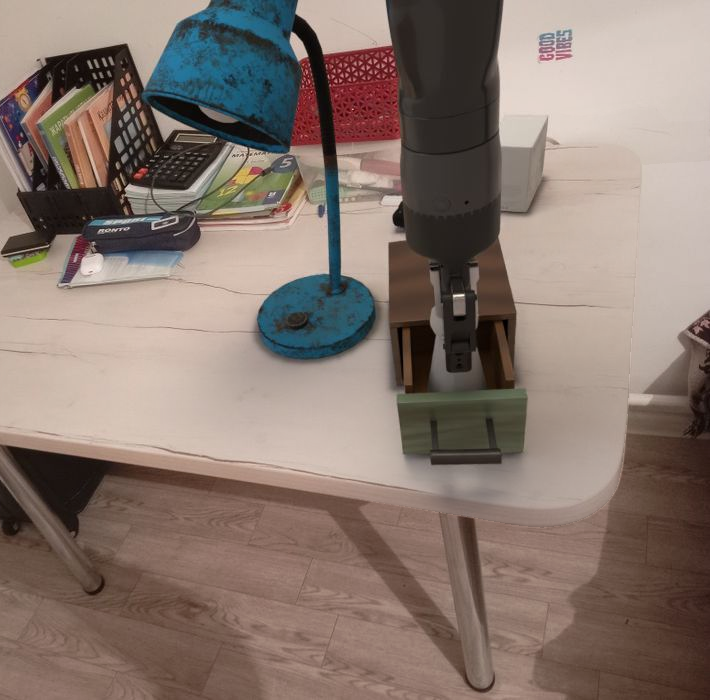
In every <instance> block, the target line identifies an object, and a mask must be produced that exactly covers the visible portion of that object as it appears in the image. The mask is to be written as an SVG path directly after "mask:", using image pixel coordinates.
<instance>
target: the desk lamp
mask: <svg viewBox="0 0 710 700" xmlns="http://www.w3.org/2000/svg"><path fill="white" fill-rule="evenodd" d="M298 3H299V0H209V3H208V5H207V6H206V7H205V9H202V10H200V11H198V12H196V13H194V14H192V15H189V16H188V17H185V18H184V19H182V20H180V21H179V22H177V23H176V25H175V27H174V29H173V31H172V33H171V35H170V37H169V39H168V41H167V43H166V45H165V47H164V49H163V51H162V53H161V54H160V57H159V59H158V61H157V63H156V65H155V67H154V68H153V71H152V72H151V74H150V77H149V79H148V81H147V83H146V84H145V87H144V89H143V91H142V93H141V100H142V101H144V103H146V104H147V105H148V106H150V107H151V108H153V109H154V110H155V111H157V112H159V113H161V114H162V115H164V116H166V117H168V118H170V119H171V120H174V121H176V122H179V123H180V124H182V125H184V126H186V127H189V128H191V129H194V130H195V131H198V132H201V133H203V134H206V135H208V136H212V137H214V138H216V139H219V140H222V141H225V142H228V143H231V144H234V145H237V146H241V147H243V148H248V149H250V150H255V151H259V152H262V153H263V152H264V153H268V154H274V155H287V154H288V153H291V145H292V139H293V134H294V129H295V128H294V127H295V123H296V121H295V120H296V116H297V109H298V103H299V97H300V93H301V92H300V91H301V85H302V80H303V68H302V66H301V64H300V61H299V59H298V57H297V55H296V53H295V51H294V49H293V47H292V44H291V36H292V33H293V34H295V36H297V38H298V39H299V40H300V42H302V44H303V47H304V49H305V52H306V54H307V57H308V63H309V68H310V71H311V75H312V81H313V85H314V93H315V99H316V105H317V112H318V113H317V114H318V120H319V130H320V131H319V132H320V140H321V148H322V150H321V151H322V157H323V167H324V180H325V183H324V185H325V202H326V216H327V217H326V219H327V248H328V273H320V274H311V275H306V276H303V277H300V278H296V279H294V280H292V281H289V282H287V283H285V284H283V285H281V286H280V287H278V288H276V289H275V290H273V291H272V292H271V293H270V294H269V295H268V296H267V297H266V298H265V299H264V300H263V302H262V304H261V305H260V307H259V309H258V313H257V317H256V322H257V327H258V331H259V335H260V339H261V340H262V342H263V343H264V345H265V346H266V347H267V348H268V349H269V350H271V351H273V352H274V353H276V354H278V355H280V356H283V357H286V358H290V359H299V360H311V359H312V360H313V359H322V358H326V357H331V356H334V355H337V354H340V353H342V352H344V351H346V350H348V349H351V348H353V347H354V346H355V345H357V344H358V343H360V342H361V341H362V340H363V339H364V338H366V336H367V335H368V334H369V333H370V331H371V330H372V328H373V327H374V323H375V321H376V317H377V315H376V311H377V310H376V305H375V303H376V302H375V298H374V296H373V293H372V292H371V290H370V288H369V287H368V286H366V285H365V284H364V283H363V282H362V281H360V280H358V279H355V278H354V277H352V276H347V275H343V274H342V242H341V241H342V238H341V236H342V234H341V233H342V231H341V204H340V184H339V183H340V182H339V181H340V180H339V165H338V155H337V154H338V153H337V142H336V133H335V132H336V131H335V123H334V122H335V121H334V111H333V104H332V103H333V102H332V96H331V89H330V81H329V76H328V70H327V66H326V61H325V57H324V51H323V48H322V45H321V42H320V40H319V37H318V34H317V33H316V31H315V30H314V29H313V27H312V25H310V23H308V21H307V20H306V19H305V18H303V17H302V16H300V15H298V14H297V9H298V8H297V7H298Z"/></svg>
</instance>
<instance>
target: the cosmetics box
mask: <svg viewBox="0 0 710 700" xmlns="http://www.w3.org/2000/svg"><path fill="white" fill-rule="evenodd" d="M548 123H549V115H548V114H509V113H508V114H505V115H504V116H503V118H502V120H501V122H499V135H500V143H501V150H502V181H501V211H502V212H514V213H527V212H528V210H529V208H530V206H531V204H532V201H533V199H534V197H535V195H536V193H537V190H538V188H539V186H540V184H541V182H542V180H543V176H544V174H543V173H544V165H545V157H546V154H545V153H546V146H547V134H548V125H549V124H548Z"/></svg>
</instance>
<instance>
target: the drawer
mask: <svg viewBox="0 0 710 700" xmlns="http://www.w3.org/2000/svg"><path fill="white" fill-rule="evenodd" d="M402 335H403V366H404V385H403V387H404V393H397V394H396V407H397V415H398V416H397V417H398V424H399V433H400V440H401V449H402V455H429V457H430V466H473V465H474V466H475V465H485V466H486V465H502V463H503V457H502V454H503V453H524V450H525V439H526V437H525V435H526V425H527V424H526V423H527V413H528V402H529V401H528V399H529V397H528V393H527V388H526V387H521V388H515V385H516V377H515V373H513V368H512V363H511V359H510V354H509V349H508V345H507V340H506V335H505V331H504V326H503V321H502V320H489V321H478V326H477V328H476V341H477V349H478V353H479V357H480V361H481V364H482V368H483V372H484V376H485V379H486V383H487V388H486V390H475V391H454V392H432V393H428V391H427V388H428V381H429V375H430V369H431V363H432V357H433V351H434V345H435V340H436V334H435V333H434V331H433V329H432V328H431V325H423V326H410V327H402Z"/></svg>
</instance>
